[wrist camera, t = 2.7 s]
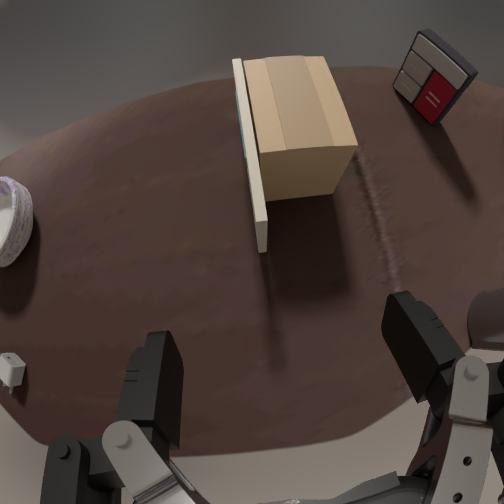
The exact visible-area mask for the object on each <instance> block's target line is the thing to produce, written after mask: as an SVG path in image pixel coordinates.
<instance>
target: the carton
mask: <svg viewBox="0 0 504 504" xmlns="http://www.w3.org/2000/svg"><path fill="white" fill-rule="evenodd" d="M243 62H244V74H245V85H246V91H247V97H248V103H249V109H250V114H251V120H252V126H253V132H254V138H255V144H256V150H257V156H258V162H259V168H260V175H261V181H262V187H263V193H264V200H265V202H266V201H274V200H282V199H290V198H299V197H308V196H317V195H327V194H333V192H334V190H335V188H336V186H337V184H338V182H339V181H340V179H341V177H342V175H343V173H344V171H345V169H346V167H347V165H348V163H349V162H350V160H351V158H352V156H353V154H354V152H355V150H356V148H357V146H358V143H357V140H356V138H355V135H354V132H353V129H352V126H351V123H350V121H349V118H348V115H347V112H346V110H345V107H344V105H343V102H342V99H341V97H340V94H339V92H338V89H337V87H336V85H335V82H334V80H333V77H332V75H331V73H330V71H329V68H328V66H327V64H326V62H325V59H324V57H304V56H283V57H267V58H265V59H257V60H247V61H243Z"/></svg>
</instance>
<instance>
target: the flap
mask: <svg viewBox="0 0 504 504" xmlns="http://www.w3.org/2000/svg"><path fill="white" fill-rule="evenodd" d="M232 61H233V69H234V77H235V85H236V90H235V93H236V100H237V107H238V114H239V121H240V128H241V135H242V142H243V149H244V156H245V163H246V169H247V172H248V180H249V187H250V194H251V201H252V208H253V215H254V222H255V230H256V237H257V244H258V251H259V253H262V252H266V251H267V224H268V219H267V213H266V206H265V200H264V193H263V187H262V181H261V175H260V168H259V162H258V156H257V150H256V144H255V138H254V132H253V126H252V120H251V114H250V109H249V103H248V97H247V91H246V86H245V80H244V75H243V69H242V64H241V59H232Z"/></svg>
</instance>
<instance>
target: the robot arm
mask: <svg viewBox="0 0 504 504" xmlns="http://www.w3.org/2000/svg"><path fill="white" fill-rule="evenodd" d="M381 329H382V335H383V338H384V340H385V342H386V343H387V345H388V347H389V349H390V351H391V353H392V355H393V356H394V358H395V360H396V362H397V364H398V366H399V368H400V370H401V372H402V374H403V376H404V378H405V380H406V382H407V384H408V386H409V388H410V390H411V392H412V394H413V396H414V398H415V400H416V402H417V403H420V402H422V401H425V400H428V402H429V404H430V407H429V410H428V415H427V419H426V423H425V426H424V431H423V434H422V437H421V441H420V445H419V447H418V450H417V453H416V455H415V456H414V458H413V460H412V461H411V463H410V465H409V468H408V470H407V473H406V476H397V473H396V471H394V472H392V473H389V474H386V475H384V476H380V477H378V478H375V479H372V480H369V481H366V482H363V483H361V484H360V485H358V486H356V487H354V488H352V489H351V490H349V491H347V492H345V493H343V494H341V495H339V496H337V497H335V498H333V499H329V500H300V499H290V500H284V501H277V502H269V503H260V504H479V500H480V497H481V493H482V489H483V485H484V481H485V476H486V472H487V467H488V461H489V456H490V450H491V452H492V454H493V457H494V459H495V462H496V465H497V468H498V470H499V473H500V476H501V479H502V482H503V485H504V359H503V361H502V362H497V363H488V364H485V363H484V362H483V361H482V360H481V359H479V358H477V357H474V356H466V355H465V354H464V353H463V351H462V350H461V348H460V347H459V346H458V344H457V343H456V341H455V340H454V338H453V337H452V336H451V334H450V333H449V331H448V330H447V329H446V327H444V324H443V323H442V322H441V320H440V319H438V316H437V315H436V314H435V312H434V311H433V310H432V308H431V307H429V306H428V305H426V304H425V303H423V302H422V301H416V300H415V298H414V297H413V296H412V294H411V293H410V292H409V291H407V290H406V291H402V292H397V293H393V294H389V295H388V297H387V301H386V306H385V310H384V315H383V319H382V324H381ZM468 330H469V335H470V337H471V340H472V348H473V349H483V350H494V351H504V288H499V289H492V290H488V291H484V292H481V293H480V294H479V295H477V297H476V298H475V299H474V301H473V303H472V304H471V307H470V310H469V315H468ZM126 371H127V373H126V374H125V378H124V383H123V387H122V392H121V396H120V401H119V406H118V411H117V416H116V420H115V422H114V423H113V424H111V425H110V426H109V427H108V428H107V429H106V430H105V432H104V434H103V435H101V436H98V437H94V438H89V439H85V440H80V441H78V440H77V439H76V438H75V437H73V436H72V435H69V434H62V435H59V436H57V437H55V438H54V439H53V440H52V441H51V443H50V445H49V448H48V452H47V458H46V464H45V470H44V476H43V483H42V490H41V499H40V504H121V488H122V487H126V488H127V489H128V491H129V492H130V494H131V495H132V497H133V499H134V502H133V504H210V503H209V502H208V501H207V500H206V499H205V498H204V497H203V496H202V495H201V494H200V493H199V492H198V491H197V490H196V489H195V488H194V487H193V486H192V484H191V483H190V482H189V481H188V480H187V479H186V477H185V476H184V475H183V474H182V473H181V471H180V470H179V469H178V468H177V467H176V466H175V464H174V463H173V462H172V460H171V459H170V458H169V450H179V442H180V421H181V404H182V389H183V376H184V368H183V362H182V358H181V355H180V353H179V351H178V349H177V346H176V344H175V342H174V339H173V337H172V334H171V333H170V331H158V332H149V333H148V334H147V338H146V342H145V346H144V347H137V348H136V350H135V351H134V353H133V354H132V355H131V357H130V358H129V362H128V366H127V370H126ZM498 503H499V504H504V488H503V491H502V494H500V495H499V497H498Z"/></svg>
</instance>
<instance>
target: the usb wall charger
mask: <svg viewBox="0 0 504 504" xmlns="http://www.w3.org/2000/svg"><path fill="white" fill-rule="evenodd" d="M25 365H26V364H25V363H24V362H23V361H22V360H21V359H20V358H19V357H18V356H17V355H16V354H15V353H2V354H1V357H0V379H1V380H2V381H3V387H5V386H6V385H7V386H9V387H10V392H11V391H13V386H18V385H21V383H22V379H23V374H24V370H25ZM4 384H5V385H4ZM10 392H9V394H11V393H12V392H11V393H10Z"/></svg>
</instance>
